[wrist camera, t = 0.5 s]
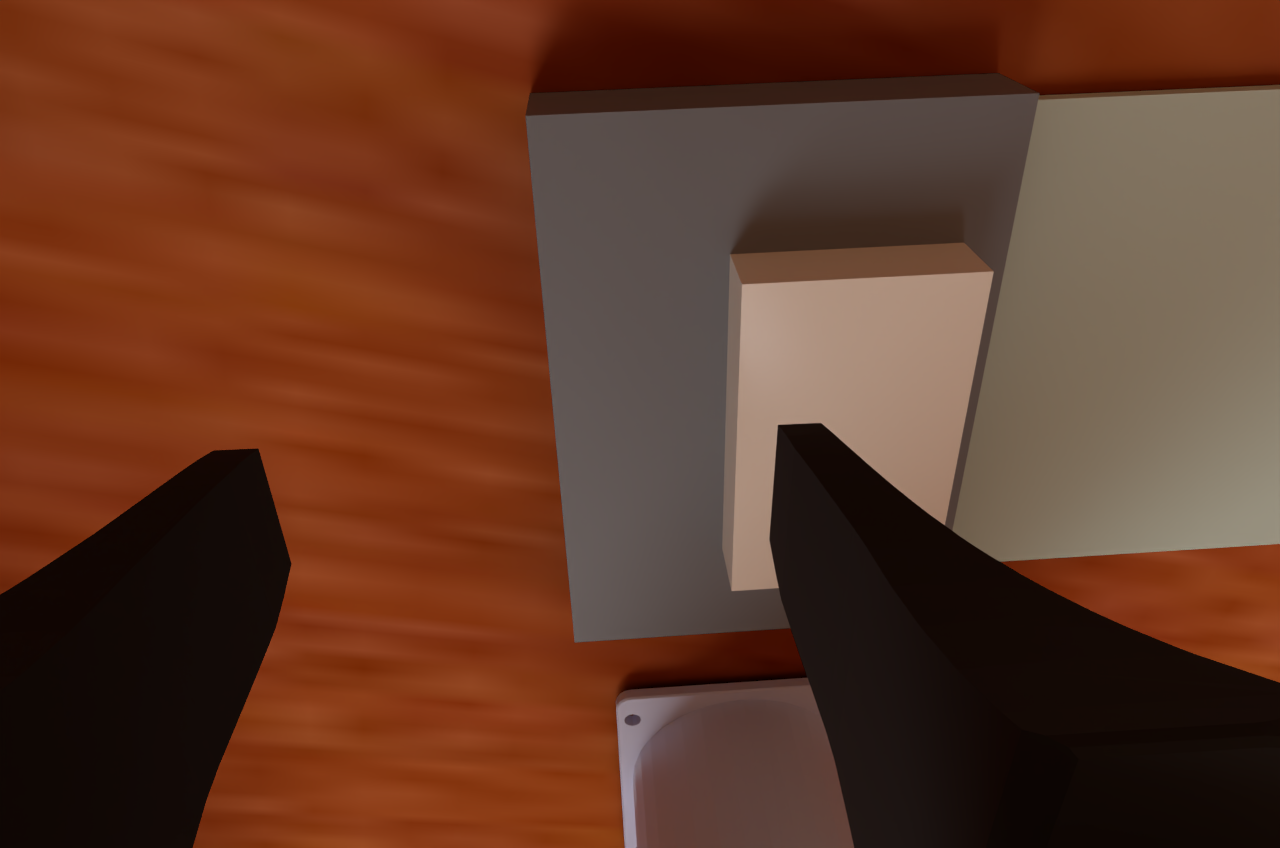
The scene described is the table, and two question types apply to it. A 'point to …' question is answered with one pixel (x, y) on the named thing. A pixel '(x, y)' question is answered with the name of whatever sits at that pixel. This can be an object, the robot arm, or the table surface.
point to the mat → (1135, 333)
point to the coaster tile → (847, 373)
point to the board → (724, 292)
